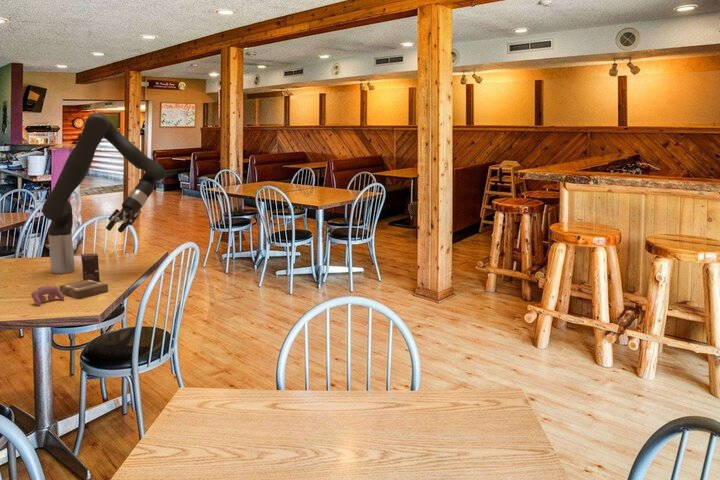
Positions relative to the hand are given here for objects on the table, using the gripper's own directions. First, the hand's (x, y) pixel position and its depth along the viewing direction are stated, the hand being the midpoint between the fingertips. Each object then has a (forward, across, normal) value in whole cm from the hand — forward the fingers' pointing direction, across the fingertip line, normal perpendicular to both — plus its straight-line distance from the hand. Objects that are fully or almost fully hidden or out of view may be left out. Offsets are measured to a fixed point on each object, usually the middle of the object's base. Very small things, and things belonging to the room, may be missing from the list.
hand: (113, 230), depth 231 cm
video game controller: (+40, +12, -11) cm, 43 cm away
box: (+23, 0, +6) cm, 24 cm away
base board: (+30, +11, -1) cm, 32 cm away
